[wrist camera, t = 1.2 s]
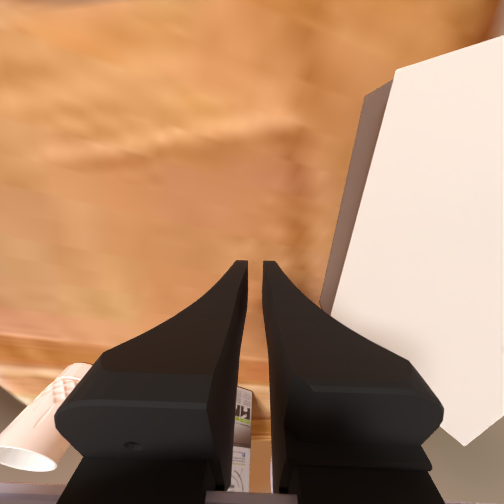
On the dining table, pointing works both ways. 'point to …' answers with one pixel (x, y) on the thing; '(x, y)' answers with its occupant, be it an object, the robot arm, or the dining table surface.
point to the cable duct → (354, 189)
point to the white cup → (40, 427)
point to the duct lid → (437, 234)
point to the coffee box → (241, 442)
